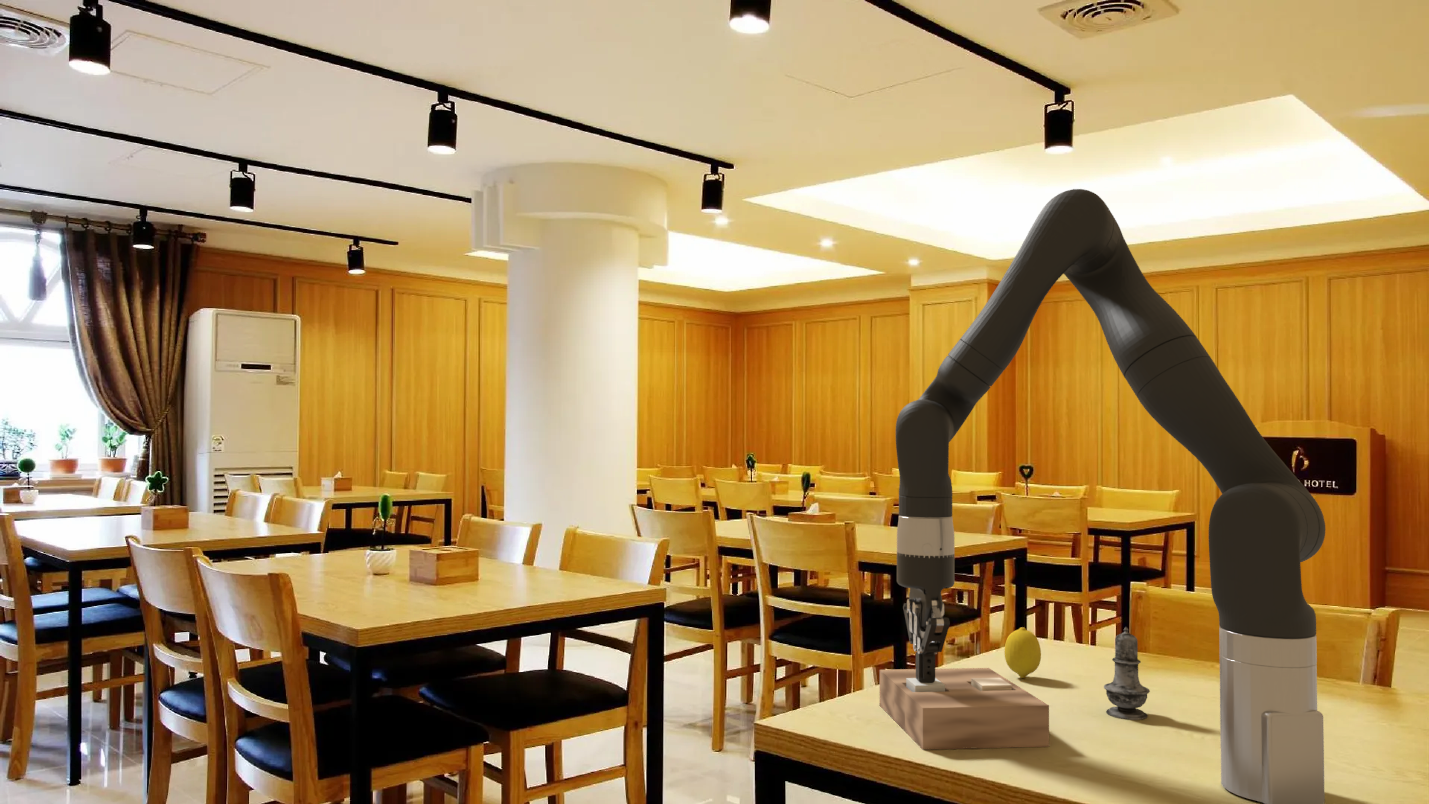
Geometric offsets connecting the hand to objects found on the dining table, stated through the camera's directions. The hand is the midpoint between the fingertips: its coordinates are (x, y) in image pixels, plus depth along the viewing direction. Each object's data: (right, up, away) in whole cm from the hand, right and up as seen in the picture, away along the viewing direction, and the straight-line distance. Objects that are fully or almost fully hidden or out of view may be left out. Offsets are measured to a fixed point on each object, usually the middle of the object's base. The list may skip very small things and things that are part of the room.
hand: (925, 681), depth 131 cm
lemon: (+21, -7, +26) cm, 34 cm away
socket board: (+4, -6, 0) cm, 7 cm away
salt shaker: (+29, -6, +6) cm, 30 cm away
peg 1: (0, -5, 0) cm, 5 cm away
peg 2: (+9, -5, +1) cm, 10 cm away
